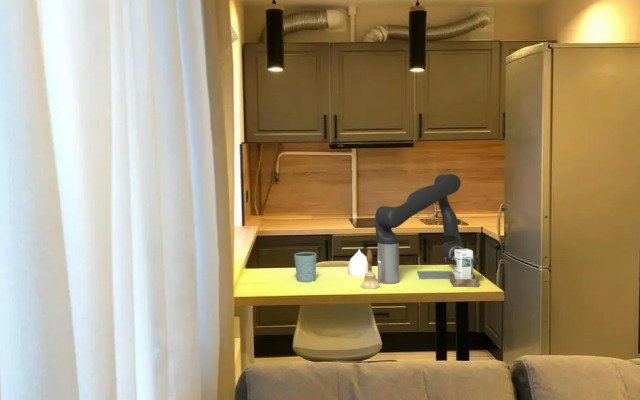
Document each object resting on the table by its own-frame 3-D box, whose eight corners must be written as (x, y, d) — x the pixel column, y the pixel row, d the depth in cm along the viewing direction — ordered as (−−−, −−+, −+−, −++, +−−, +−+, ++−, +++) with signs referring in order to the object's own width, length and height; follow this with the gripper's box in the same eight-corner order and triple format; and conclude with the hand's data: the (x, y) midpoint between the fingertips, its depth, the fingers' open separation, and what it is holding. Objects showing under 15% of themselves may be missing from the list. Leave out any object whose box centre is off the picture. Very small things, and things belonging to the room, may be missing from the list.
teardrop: (372, 276, 255) (371, 250, 254) (348, 276, 255) (347, 251, 254) (370, 271, 266) (370, 246, 265) (347, 271, 266) (347, 246, 265)
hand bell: (364, 289, 231) (364, 252, 230) (357, 285, 239) (357, 248, 238) (383, 287, 233) (382, 250, 232) (375, 283, 241) (375, 247, 240)
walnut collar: (453, 286, 233) (453, 279, 233) (449, 280, 243) (449, 274, 243) (478, 286, 232) (478, 279, 232) (473, 280, 242) (473, 274, 242)
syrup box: (461, 285, 234) (461, 251, 233) (454, 281, 240) (454, 248, 238) (473, 283, 236) (473, 250, 234) (465, 280, 241) (466, 247, 240)
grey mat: (419, 278, 248) (419, 277, 248) (417, 272, 260) (417, 271, 260) (455, 278, 247) (455, 277, 247) (451, 272, 259) (451, 271, 259)
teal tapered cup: (314, 283, 244) (313, 256, 243) (292, 282, 246) (291, 255, 245) (319, 277, 254) (318, 252, 253) (297, 277, 256) (297, 251, 255)
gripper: (442, 247, 251) (447, 254, 235) (474, 247, 250) (482, 254, 234) (442, 263, 252) (447, 271, 236) (474, 263, 251) (481, 272, 234)
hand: (464, 263), depth 235 cm, fingers closed on syrup box, 7 cm apart
